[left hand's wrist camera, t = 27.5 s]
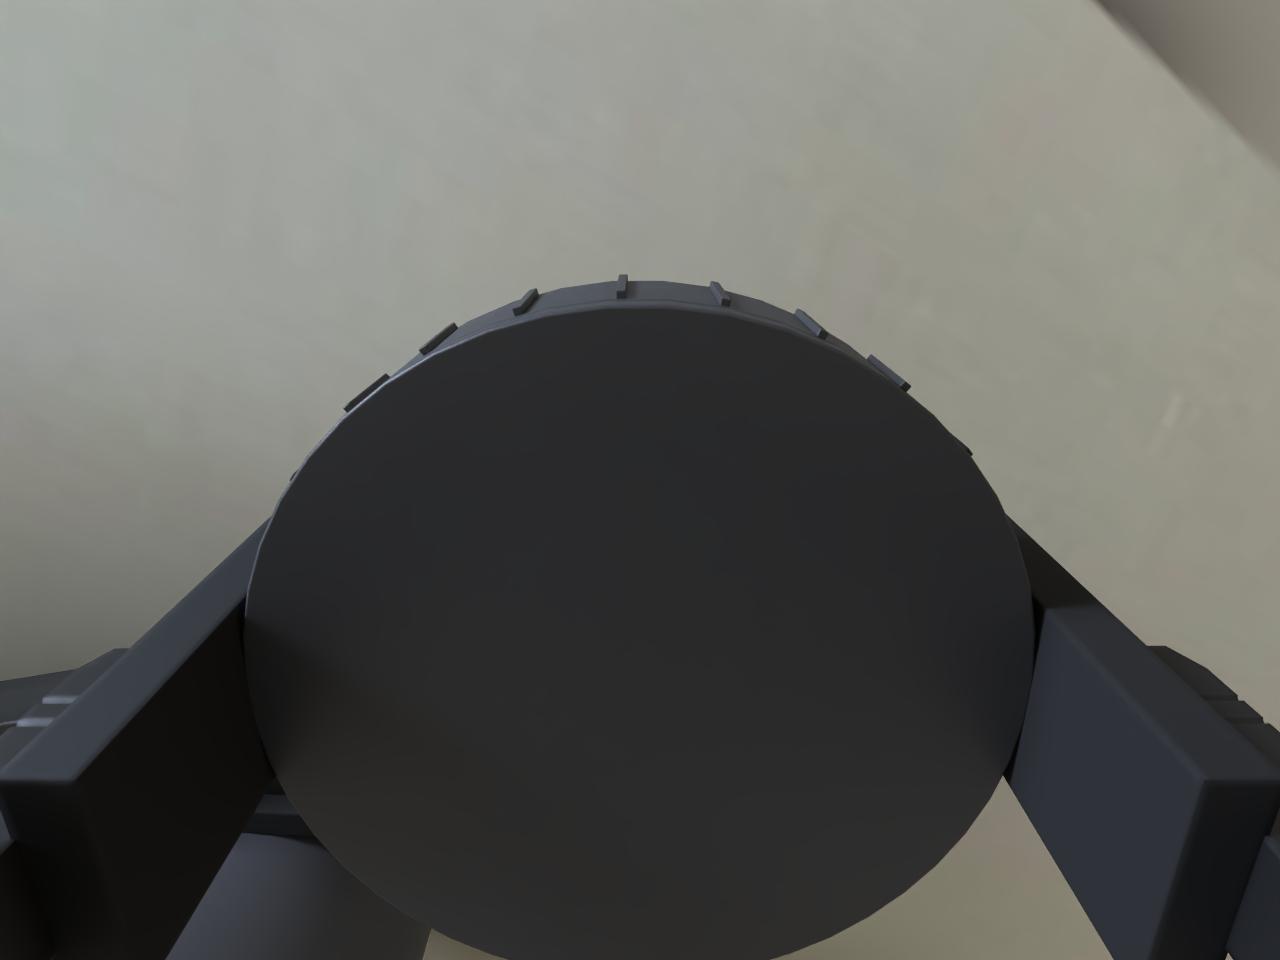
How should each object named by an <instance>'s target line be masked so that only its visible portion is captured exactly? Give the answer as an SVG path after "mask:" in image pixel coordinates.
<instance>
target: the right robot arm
mask: <svg viewBox="0 0 1280 960" xmlns="http://www.w3.org/2000/svg"><path fill="white" fill-rule="evenodd" d="M76 670H77V669H76ZM73 671H75V670H69V671H63V672H57V673H51V674H44V675H38V676H32V677H25V678H19V679H13V680H7V681H0V736H1V735H2V734H3V733H4V732H5V731H6V730H7V729H9V728H10V727H16V726H17V721H18V720H19V719H20V718H21V717H22V716H23V715H24V714H26V713H27V712H28V711H29V710H30V709H31V708H32V707H33V706H35V705H36V704H42V702H43V698H44V697H45V696H46V695H47V694H48V693H49V692H50V691H52V690H53V689H54V688H55V687H56V686H57V685H58V684H59V683H61V682H62V681H63V680H64V679H65V678H66V677H67V676H69V675H70V674H71V673H72V672H73ZM242 833H252V834H273V835H295V836H315V835H314V834H313V832H312V831H311V830H310V828H309V827H308V825H307V824H306V823H305V821H304V820H303V818H302V817H301V816H300V814H299V813H298V812H297V810H296V809H295V807H294V806H293V805H292V803H291V802H290V800H289V799H288V797H287V795H286V793H285V791H284V789H283V787H282V786H281V784H280V782H279V780H278V778H277V776H276V777H275V778H274V780H273V782H272V783H271V785H270V787H269V788H268V790H267V792H266V793H265V795H264V797H263V798H262V800H261V802H260V803H259V805H258V807H257V808H256V810H255V812H254V813H253V815H252V817H251V818H250V820H249V822H248V823H247V825H246V827H245V828H244V830H243V832H242ZM50 960H54V958H53V956H52V957H51V958H50Z"/></svg>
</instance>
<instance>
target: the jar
mask: <svg viewBox="0 0 1280 960" xmlns="http://www.w3.org/2000/svg"><path fill="white" fill-rule="evenodd" d="M430 930H431V928H430V927H428V926H426V925H425V924H423V923H421V922H419V921H417V920H415V919H413V918H411V917H410V916H408V915H407V914H406V913H404V912H403V911H401V910H400V909H398V908H397V907H395V906H394V905H392V904H391V903H389V902H388V901H386V900H385V899H383V898H382V897H380V896H379V895H377V894H376V893H375V892H373V891H372V890H371V889H370V888H369V887H368V886H366V885H365V884H364V883H363V882H362V881H360V880H359V879H358V878H357V877H356V876H354V875H353V874H352V873H351V872H350V871H349V870H347V869H346V868H345V867H344V866H343V865H342V864H341V863H340V862H339V861H338V860H337V859H336V858H335V856H334V855H333V854H332V853H331V852H330V851H329V850H328V849H327V848H326V847H325V846H324V845H323V844H322V843H321V842H320V840H319V839H318V838H317V837H316V836H295V835H273V834H252V833H241V835H240V837H239V838H238V840H237V842H236V843H235V845H234V847H233V848H232V850H231V852H230V853H229V855H228V857H227V858H226V860H225V862H224V863H223V865H222V867H221V868H220V870H219V872H218V873H217V875H216V877H215V878H214V880H213V882H212V883H211V885H210V887H209V888H208V890H207V892H206V893H205V895H204V897H203V898H202V900H201V902H200V903H199V905H198V907H197V908H196V910H195V912H194V913H193V915H192V917H191V918H190V920H189V922H188V923H187V925H186V927H185V928H184V930H183V931H182V933H181V935H180V936H179V938H178V940H177V941H176V943H175V945H174V946H173V948H172V950H171V951H170V953H169V955H168V956H167V958H166V960H422V959H423V955H424V951H425V948H426V944H427V940H428V937H429V933H430Z"/></svg>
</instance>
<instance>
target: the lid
mask: <svg viewBox="0 0 1280 960" xmlns="http://www.w3.org/2000/svg"><path fill="white" fill-rule="evenodd" d="M419 351H420V353H419V354H418V355H417V356H416V357H414V358H413V359H412V360H411V361H410V362H408V363H407V364H406V365H405V366H403V367H402V368H401V369H400V370H399V371H397V372H396V373H395V374H394V375H393V376H391V377H389V376H388V375H387V374H384V375H383V376H382V377H381V378H379V379H378V380H377V381H376V382H374V383H373V384H372V385H370V386H369V387H368V388H367V389H365V390H364V391H363V392H362V393H360V394H359V395H358V396H357V397H355V398H354V399H353V400H352V401H350V402H349V403H348V404H347V405H346V406H345V407H344V408H343V409H344V410H345V411H346V412H347V414H345V415H344V416H343V417H342V418H341V419H340V420H339V421H338V422H337V423H336V425H335V426H334V427H333V428H332V429H331V430H330V431H329V432H328V434H327V435H326V436H325V437H324V438H323V439H322V440H321V441H320V442H319V444H318V445H317V446H316V447H315V448H314V449H313V450H312V451H311V453H310V454H309V455H308V456H307V457H306V459H305V460H304V462H303V463H302V465H301V466H300V468H299V469H298V470H297V471H296V472H295V473H294V474H293V475H292V477H291V478H290V481H291V482H290V483H289V485H288V486H287V488H286V490H285V491H284V493H283V494H282V496H281V497H280V499H279V501H278V503H277V505H276V508H275V510H274V512H273V514H272V517H271V519H270V521H269V523H268V526H267V528H266V530H265V532H264V535H263V537H262V539H261V541H260V544H259V547H258V551H257V555H256V559H255V562H254V566H253V570H252V574H251V577H250V581H249V585H248V589H247V599H246V608H245V618H244V628H243V648H244V665H245V671H246V676H247V682H248V687H249V692H250V696H251V701H252V706H253V711H254V716H255V721H256V725H257V729H258V733H259V737H260V739H261V742H262V745H263V747H264V750H265V753H266V755H267V758H268V761H269V763H270V765H271V767H272V769H273V771H274V773H275V774H276V776H277V778H278V780H279V782H280V784H281V786H282V787H283V789H284V791H285V793H286V795H287V797H288V799H289V800H290V802H291V803H292V805H293V806H294V807H295V809H296V810H297V812H298V813H299V814H300V816H301V817H302V818H303V820H304V821H305V823H306V824H307V825H308V827H309V828H310V830H311V831H312V832H313V834H314V835H315V836H316V837H317V838H318V839H319V840H320V842H321V843H322V844H323V845H324V846H325V847H326V848H327V849H328V850H329V851H330V852H331V853H332V854H333V855H334V856H335V858H336V859H337V860H338V861H339V862H340V863H341V864H342V865H343V866H344V867H345V868H346V869H347V870H349V871H350V872H351V873H352V874H353V875H354V876H356V877H357V878H358V879H359V880H360V881H362V882H363V883H364V884H365V885H366V886H368V887H369V888H370V889H371V890H372V891H373V892H375V893H376V894H377V895H379V896H380V897H382V898H383V899H385V900H386V901H388V902H389V903H391V904H392V905H394V906H395V907H397V908H398V909H400V910H401V911H403V912H404V913H406V914H407V915H408V916H410V917H411V918H413V919H415V920H417V921H419V922H421V923H423V924H425V925H426V926H428V927H430V928H432V929H434V930H436V931H438V932H440V933H442V934H444V935H446V936H447V937H449V938H451V939H454V940H456V941H459V942H461V943H464V944H466V945H469V946H471V947H474V948H476V949H479V950H481V951H484V952H486V953H489V954H492V955H495V956H499V957H502V958H506V959H509V960H770V959H773V958H777V957H780V956H783V955H787V954H790V953H793V952H795V951H798V950H800V949H803V948H805V947H807V946H810V945H812V944H815V943H817V942H820V941H822V940H825V939H827V938H830V937H832V936H834V935H835V934H837V933H839V932H841V931H843V930H845V929H847V928H849V927H850V926H852V925H854V924H856V923H858V922H860V921H862V920H864V919H866V918H867V917H869V916H871V915H872V914H874V913H875V912H876V911H878V910H879V909H881V908H882V907H884V906H885V905H887V904H888V903H890V902H891V901H893V900H894V899H896V898H897V897H899V896H900V895H902V894H903V893H904V892H906V891H907V890H908V889H909V888H910V887H911V886H913V885H914V884H915V883H916V882H917V881H918V880H920V879H921V878H922V877H923V876H924V875H925V874H927V873H928V872H929V871H930V870H931V869H932V868H934V867H935V866H936V865H937V864H938V863H939V862H940V861H941V860H942V858H943V857H944V856H945V855H946V854H947V853H948V852H949V851H950V850H951V849H952V848H953V847H954V845H955V844H956V843H957V842H958V841H959V840H960V839H961V838H962V837H963V836H964V835H965V834H966V832H967V831H968V829H969V828H970V826H971V825H972V824H973V822H974V821H975V819H976V818H977V817H978V815H979V814H980V812H981V811H982V810H983V808H984V807H985V805H986V804H987V803H988V801H989V800H990V798H991V796H992V795H993V793H994V791H995V789H996V787H997V785H998V783H999V781H1000V779H1001V777H1002V776H1003V774H1004V772H1005V770H1006V768H1007V766H1008V764H1009V762H1010V760H1011V757H1012V755H1013V752H1014V749H1015V746H1016V744H1017V741H1018V738H1019V735H1020V732H1021V730H1022V727H1023V722H1024V718H1025V713H1026V708H1027V703H1028V698H1029V693H1030V689H1031V684H1032V679H1033V673H1034V656H1035V634H1036V632H1035V623H1034V614H1033V605H1032V596H1031V587H1030V583H1029V579H1028V576H1027V572H1026V569H1025V565H1024V561H1023V558H1022V554H1021V551H1020V547H1019V543H1018V540H1017V538H1016V536H1015V534H1014V531H1013V529H1012V527H1011V525H1010V523H1009V521H1008V518H1007V516H1006V514H1005V512H1004V510H1003V507H1002V505H1001V503H1000V501H999V499H998V497H997V495H996V493H995V492H994V490H993V489H992V487H991V486H990V484H989V483H988V481H987V480H986V478H985V477H984V475H983V474H982V472H981V471H980V469H979V468H978V466H977V465H976V463H975V462H974V460H973V459H972V457H971V456H972V455H973V454H972V452H971V451H970V449H969V448H968V447H967V446H965V445H964V444H963V443H962V442H961V441H959V440H958V439H957V438H956V437H955V436H953V435H952V434H951V433H950V432H949V431H948V430H947V429H946V428H945V427H944V426H943V425H942V424H941V423H940V421H939V420H938V419H937V418H936V417H935V416H934V415H933V414H932V413H931V412H929V411H928V410H927V409H926V408H925V407H923V406H922V405H921V404H920V403H919V402H917V401H916V400H915V399H914V398H913V397H911V396H910V395H909V394H908V393H907V391H908V390H909V388H910V387H911V385H909V384H908V383H907V382H906V381H904V380H903V379H902V378H901V377H899V376H898V375H897V374H896V373H894V372H893V371H892V370H891V369H889V368H888V367H887V366H885V365H884V364H883V363H882V362H880V361H879V360H878V359H877V358H875V357H874V356H873V355H872V354H871V355H870V356H869V357H868V358H867V360H866V359H865V358H864V357H863V356H862V355H860V354H859V353H858V352H857V351H855V350H854V349H853V348H852V347H850V346H849V345H848V344H846V343H845V342H843V341H841V340H840V339H838V338H836V337H835V336H833V335H831V334H830V333H828V332H827V331H826V330H825V329H824V328H822V327H821V326H820V325H819V324H818V323H817V322H815V321H814V320H813V319H812V318H811V317H810V316H808V315H807V314H806V313H805V312H804V311H802V310H800V309H797V310H796V312H795V314H792V313H790V312H787V311H785V310H783V309H780V308H778V307H775V306H773V305H771V304H768V303H766V302H764V301H761V300H757V299H754V298H750V297H746V296H743V295H739V294H735V293H732V292H728V291H724V289H723V288H722V287H721V285H720V284H719V283H718V282H713V281H711V283H710V287H705V286H698V285H690V284H682V283H675V282H667V281H628V275H627V274H626V275H619V278H618V281H610V282H603V283H596V284H588V285H581V286H574V287H567V288H561V289H557V290H554V291H550V292H547V293H543V294H538V291H537V289H532V290H529V291H528V292H527V293H526V294H525V295H524V297H523V298H522V299H521V300H518V301H514V302H512V303H510V304H507V305H505V306H503V307H500V308H498V309H496V310H494V311H491V312H489V313H487V314H484V315H482V316H480V317H477V318H475V319H473V320H471V321H468V322H467V323H465V324H464V325H462V326H460V327H459V328H457V326H456V324H455V323H452V324H450V325H449V326H447V327H446V328H445V329H443V330H442V331H441V332H440V333H438V334H437V335H436V336H435V337H433V338H432V339H431V340H430V341H428V342H427V343H426V344H425V345H423V346H422V347H421V348H420V349H419Z"/></svg>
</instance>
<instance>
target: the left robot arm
mask: <svg viewBox="0 0 1280 960" xmlns="http://www.w3.org/2000/svg"><path fill="white" fill-rule="evenodd" d="M1006 516H1007V518H1008V521H1009V523H1010V525H1011V527H1012V529H1013V531H1014V534H1015V536H1016V538H1017V540H1018V543H1019V547H1020V551H1021V554H1022V558H1023V561H1024V565H1025V569H1026V572H1027V576H1028V579H1029V583H1030V587H1031V596H1032V605H1033V614H1034V623H1035V632H1036V634H1035V656H1034V673H1033V679H1032V684H1031V689H1030V693H1029V698H1028V703H1027V708H1026V713H1025V718H1024V722H1023V727H1022V730H1021V732H1020V735H1019V738H1018V741H1017V744H1016V746H1015V749H1014V752H1013V755H1012V757H1011V760H1010V762H1009V764H1008V766H1007V768H1006V770H1005V772H1004V774H1003V776H1004V778H1005V779H1006V781H1007V783H1008V784H1009V786H1010V788H1011V789H1012V791H1013V793H1014V794H1015V796H1016V798H1017V799H1018V801H1019V803H1020V804H1021V806H1022V808H1023V809H1024V811H1025V813H1026V814H1027V816H1028V818H1029V819H1030V821H1031V823H1032V824H1033V826H1034V828H1035V829H1036V831H1037V833H1038V834H1039V836H1040V838H1041V839H1042V841H1043V843H1044V844H1045V846H1046V847H1047V849H1048V851H1049V852H1050V854H1051V856H1052V857H1053V859H1054V861H1055V862H1056V864H1057V866H1058V867H1059V869H1060V871H1061V872H1062V874H1063V876H1064V877H1065V879H1066V881H1067V882H1068V884H1069V886H1070V887H1071V889H1072V891H1073V892H1074V894H1075V896H1076V897H1077V899H1078V901H1079V902H1080V904H1081V906H1082V907H1083V909H1084V911H1085V912H1086V914H1087V916H1088V917H1089V919H1090V921H1091V922H1092V924H1093V926H1094V927H1095V929H1096V931H1097V932H1098V934H1099V936H1100V937H1101V939H1102V941H1103V942H1104V944H1105V946H1106V947H1107V949H1108V951H1109V952H1110V954H1111V956H1112V957H1113V959H1114V960H1225V959H1226V956H1227V953H1229V954H1230V956H1231V957H1232V958H1233V960H1280V732H1279V731H1278V730H1277V729H1275V728H1274V727H1273V726H1272V725H1271V724H1264V722H1263V717H1262V716H1261V715H1259V714H1258V713H1257V712H1256V711H1255V710H1254V709H1253V708H1251V707H1250V706H1249V705H1248V704H1247V703H1246V702H1245V701H1239V700H1238V698H1237V697H1238V695H1237V694H1235V693H1234V692H1233V691H1232V690H1231V689H1230V688H1229V687H1228V686H1226V685H1225V684H1224V683H1223V682H1222V681H1221V680H1220V679H1218V678H1217V677H1216V676H1215V675H1214V674H1213V673H1212V672H1210V671H1209V670H1208V669H1207V668H1205V667H1203V666H1201V665H1200V664H1198V663H1196V662H1194V661H1192V660H1190V659H1189V658H1187V657H1185V656H1183V655H1181V654H1179V653H1178V652H1176V651H1174V650H1172V649H1170V648H1168V647H1167V646H1146V645H1145V644H1144V643H1143V642H1142V641H1141V640H1140V639H1139V638H1138V637H1137V636H1136V635H1135V634H1133V633H1132V632H1131V631H1130V630H1129V629H1128V628H1127V627H1126V626H1125V625H1124V624H1123V623H1122V622H1121V621H1120V620H1119V619H1117V618H1116V617H1115V616H1114V615H1113V614H1112V613H1111V612H1110V611H1109V610H1108V609H1107V608H1106V607H1105V606H1104V605H1103V604H1101V603H1100V602H1099V601H1098V600H1097V599H1096V598H1095V597H1094V596H1093V595H1092V594H1091V593H1090V592H1089V591H1088V590H1086V589H1085V588H1084V587H1083V586H1082V585H1081V584H1080V583H1079V582H1078V581H1077V580H1076V579H1075V578H1074V577H1073V576H1072V575H1070V574H1069V573H1068V572H1067V571H1066V570H1065V569H1064V568H1063V567H1062V566H1061V565H1060V564H1059V563H1058V562H1057V561H1056V560H1054V559H1053V558H1052V557H1051V556H1050V555H1049V554H1048V553H1047V552H1046V551H1045V550H1044V549H1043V548H1042V547H1041V546H1040V545H1038V544H1037V543H1036V542H1035V541H1034V540H1033V539H1032V538H1031V537H1030V536H1029V535H1028V534H1027V533H1026V532H1025V531H1024V530H1022V529H1021V528H1020V527H1019V526H1018V525H1017V524H1016V523H1015V522H1014V521H1013V520H1012V519H1011V518H1010V517H1009V516H1008V515H1006ZM271 517H272V516H271ZM271 517H270V518H269V519H268V520H267V521H266V522H264V523H263V524H262V525H261V526H260V527H259V528H258V529H257V530H256V531H255V532H254V533H253V534H252V535H251V536H250V537H248V538H247V539H246V540H245V541H244V542H243V543H242V544H241V545H240V546H239V547H238V548H237V549H236V550H235V551H234V552H232V553H231V554H230V555H229V556H228V557H227V558H226V559H225V560H224V561H223V562H222V563H221V564H220V565H219V566H218V567H216V568H215V569H214V570H213V571H212V572H211V573H210V574H209V575H208V576H207V577H206V578H205V579H204V580H203V581H201V582H200V583H199V584H198V585H197V586H196V587H195V588H194V589H193V590H192V591H191V592H190V593H189V594H188V595H187V596H185V597H184V598H183V599H182V600H181V601H180V602H179V603H178V604H177V605H176V606H175V607H174V608H173V609H172V610H171V611H169V612H168V613H167V614H166V615H165V616H164V617H163V618H162V619H161V620H160V621H159V622H158V623H157V624H156V625H155V626H153V627H152V628H151V629H150V630H149V631H148V632H147V633H146V634H145V635H144V636H143V637H142V638H141V639H140V640H138V641H137V642H136V643H135V644H134V645H133V646H132V647H131V648H130V649H113V650H111V651H110V652H108V653H106V654H104V655H102V656H100V657H99V658H97V659H95V660H93V661H91V662H90V663H88V664H86V665H84V666H82V667H80V668H79V669H77V670H75V671H73V672H72V673H71V674H70V675H69V676H67V677H66V678H65V679H64V680H63V681H62V682H61V683H59V684H58V685H57V686H56V687H55V688H54V689H53V690H52V691H50V692H49V693H48V694H47V695H46V696H45V697H44V698H43V702H42V704H36V705H35V706H33V707H32V708H31V709H30V710H29V711H28V712H27V713H26V714H24V715H23V716H22V717H21V718H20V719H19V720H18V721H17V726H16V727H10V728H9V729H7V730H6V731H5V732H4V733H3V734H2V735H1V736H0V960H50V958H51V957H52V956H53V958H54V960H166V958H167V956H168V955H169V953H170V951H171V950H172V948H173V946H174V945H175V943H176V941H177V940H178V938H179V936H180V935H181V933H182V931H183V930H184V928H185V927H186V925H187V923H188V922H189V920H190V918H191V917H192V915H193V913H194V912H195V910H196V908H197V907H198V905H199V903H200V902H201V900H202V898H203V897H204V895H205V893H206V892H207V890H208V888H209V887H210V885H211V883H212V882H213V880H214V878H215V877H216V875H217V873H218V872H219V870H220V868H221V867H222V865H223V863H224V862H225V860H226V858H227V857H228V855H229V853H230V852H231V850H232V848H233V847H234V845H235V843H236V842H237V840H238V838H239V837H240V835H241V833H242V832H243V830H244V828H245V827H246V825H247V823H248V822H249V820H250V818H251V817H252V815H253V813H254V812H255V810H256V808H257V807H258V805H259V803H260V802H261V800H262V798H263V797H264V795H265V793H266V792H267V790H268V788H269V787H270V785H271V783H272V782H273V780H274V778H275V777H276V774H275V773H274V771H273V769H272V767H271V765H270V763H269V761H268V758H267V755H266V753H265V750H264V747H263V745H262V742H261V739H260V737H259V733H258V729H257V725H256V721H255V716H254V711H253V706H252V701H251V696H250V692H249V687H248V682H247V676H246V671H245V665H244V648H243V628H244V618H245V608H246V599H247V589H248V585H249V581H250V577H251V574H252V570H253V566H254V562H255V559H256V555H257V551H258V547H259V544H260V541H261V539H262V537H263V535H264V532H265V530H266V528H267V526H268V523H269V521H270V519H271Z"/></svg>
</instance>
